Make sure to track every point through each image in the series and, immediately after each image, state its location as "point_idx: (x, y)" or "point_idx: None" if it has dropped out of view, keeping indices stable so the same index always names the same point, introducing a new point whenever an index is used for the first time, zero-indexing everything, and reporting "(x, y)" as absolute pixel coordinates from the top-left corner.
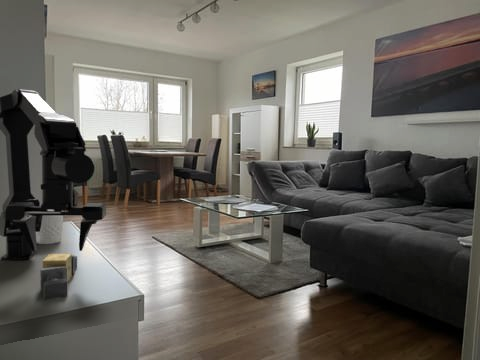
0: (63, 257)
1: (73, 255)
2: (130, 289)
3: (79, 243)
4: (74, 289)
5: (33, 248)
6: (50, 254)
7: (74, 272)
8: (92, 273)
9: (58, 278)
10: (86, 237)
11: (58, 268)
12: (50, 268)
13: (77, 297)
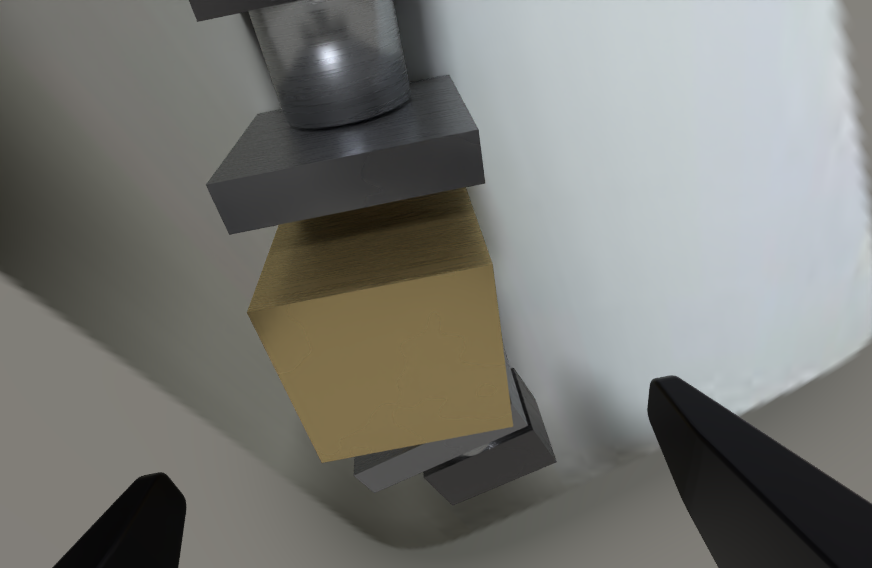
0: (458, 374)
1: (470, 144)
2: (860, 297)
3: (701, 527)
4: (546, 334)
5: (174, 551)
6: (269, 322)
7: (451, 80)
8: (605, 41)
9: None
10: (832, 492)
11: (473, 445)
12: (420, 460)
13: (587, 404)
